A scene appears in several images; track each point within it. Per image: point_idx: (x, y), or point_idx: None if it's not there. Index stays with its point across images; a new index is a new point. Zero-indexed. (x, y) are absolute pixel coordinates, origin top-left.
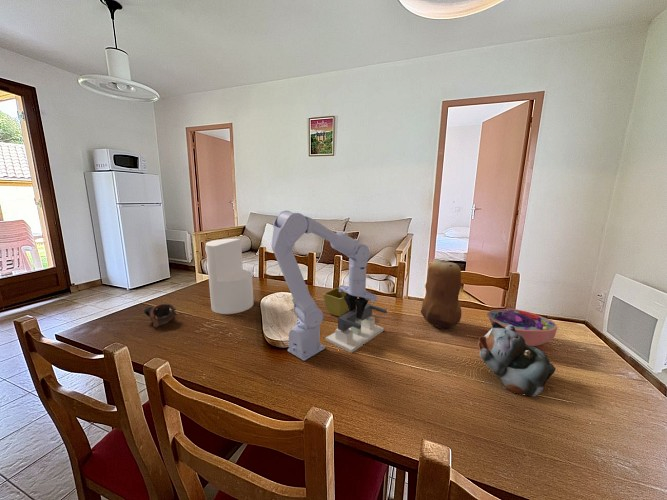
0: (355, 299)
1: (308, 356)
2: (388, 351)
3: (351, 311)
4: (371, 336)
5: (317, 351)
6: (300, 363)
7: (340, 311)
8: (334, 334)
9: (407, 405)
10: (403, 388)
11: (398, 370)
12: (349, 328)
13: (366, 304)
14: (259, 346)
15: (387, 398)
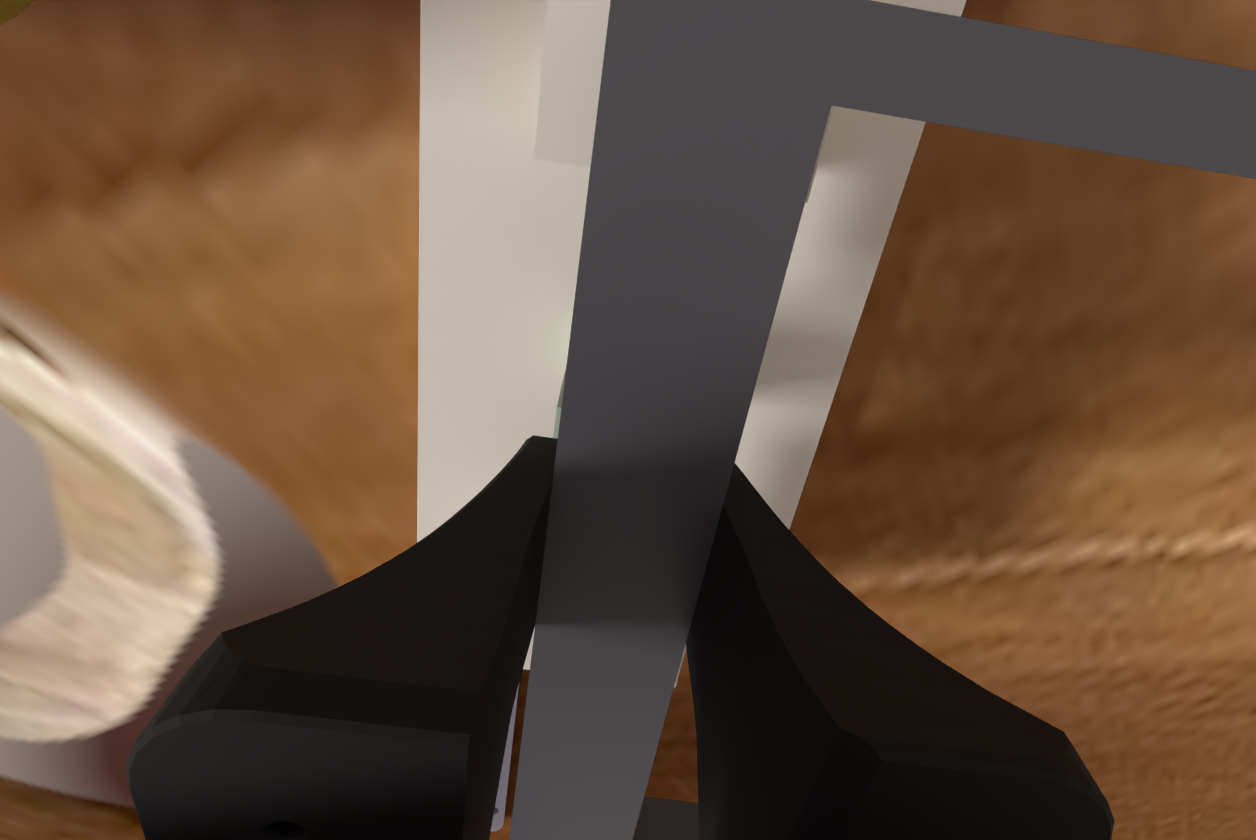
0: (499, 680)
1: (498, 804)
2: (1091, 437)
3: (555, 630)
4: (855, 329)
5: (506, 743)
6: (497, 834)
7: (20, 6)
8: (446, 517)
9: (1244, 825)
10: (1229, 746)
11: (1198, 624)
12: (500, 307)
13: (898, 635)
14: (120, 833)
15: (1123, 830)
